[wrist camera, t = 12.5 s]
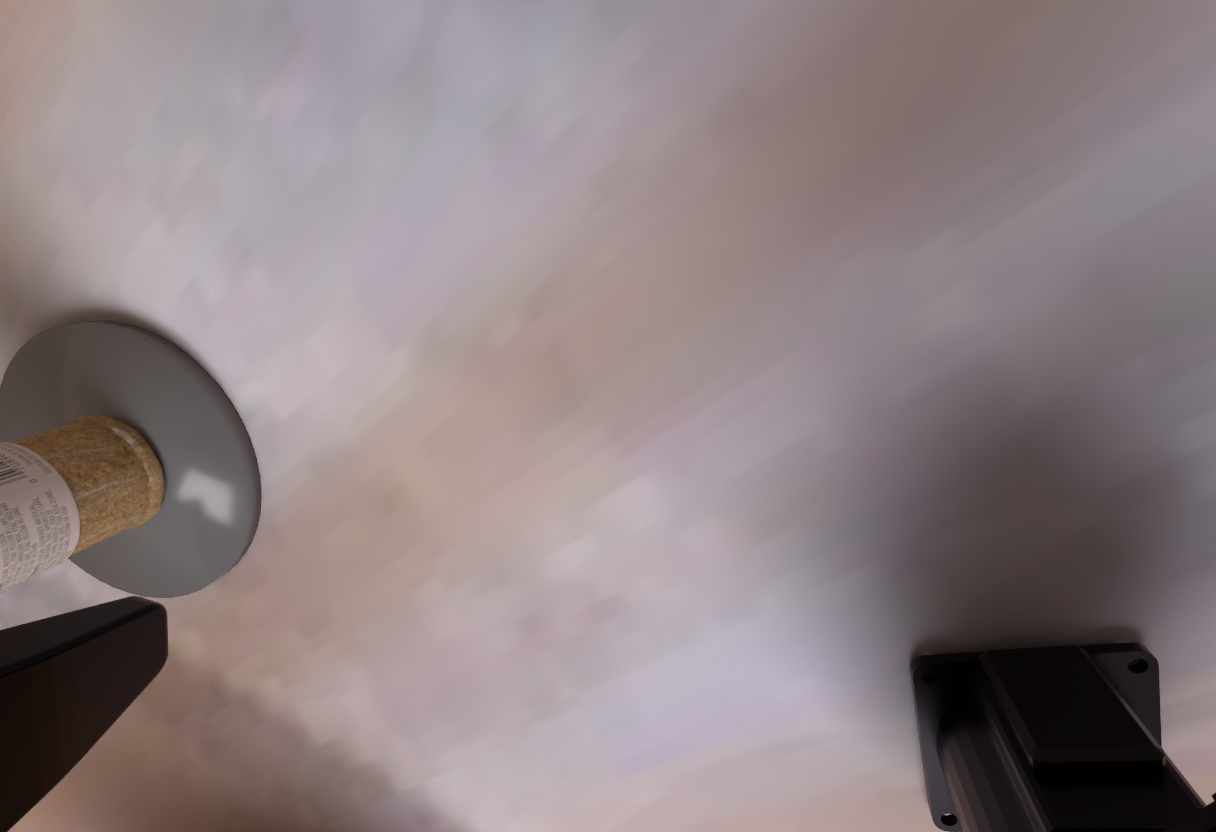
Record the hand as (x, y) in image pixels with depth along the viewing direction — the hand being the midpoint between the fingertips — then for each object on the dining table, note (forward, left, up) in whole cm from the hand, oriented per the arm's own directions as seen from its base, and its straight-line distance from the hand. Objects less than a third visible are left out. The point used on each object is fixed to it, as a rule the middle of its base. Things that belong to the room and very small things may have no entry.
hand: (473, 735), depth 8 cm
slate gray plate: (+2, +20, -13) cm, 24 cm away
